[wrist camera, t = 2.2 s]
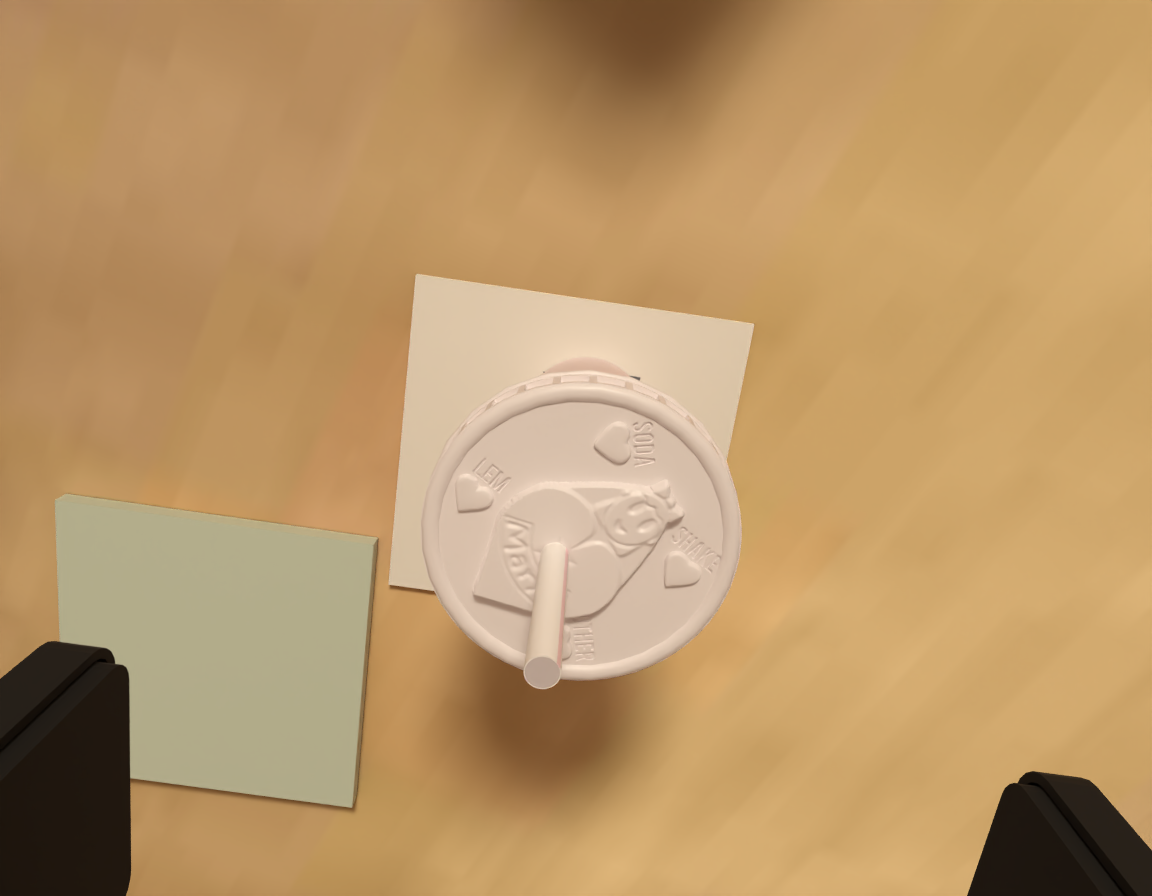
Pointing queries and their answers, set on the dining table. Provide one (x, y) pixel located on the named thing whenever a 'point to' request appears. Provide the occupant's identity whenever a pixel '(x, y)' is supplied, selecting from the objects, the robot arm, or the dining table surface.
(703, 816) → the dining table surface
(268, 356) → the dining table surface
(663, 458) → the smoothie
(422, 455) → the card
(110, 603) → the sage pad
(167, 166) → the dining table surface
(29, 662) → the robot arm
